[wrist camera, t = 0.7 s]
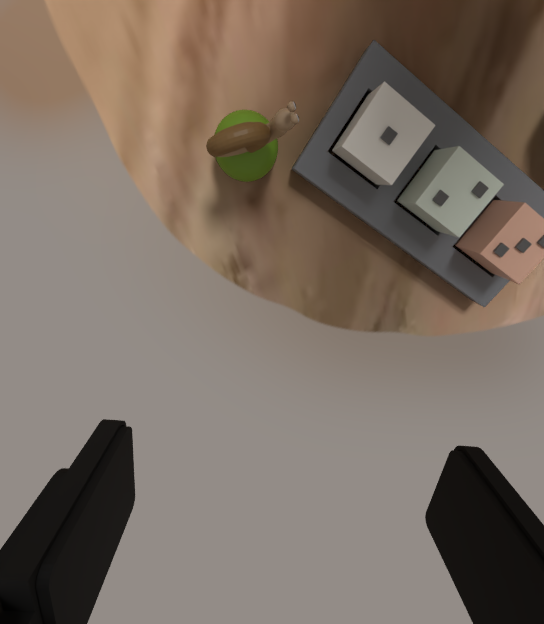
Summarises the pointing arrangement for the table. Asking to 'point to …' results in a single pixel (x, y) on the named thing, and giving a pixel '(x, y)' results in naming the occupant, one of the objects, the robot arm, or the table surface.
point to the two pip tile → (450, 191)
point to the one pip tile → (383, 135)
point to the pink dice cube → (506, 240)
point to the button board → (411, 173)
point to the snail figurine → (250, 142)
